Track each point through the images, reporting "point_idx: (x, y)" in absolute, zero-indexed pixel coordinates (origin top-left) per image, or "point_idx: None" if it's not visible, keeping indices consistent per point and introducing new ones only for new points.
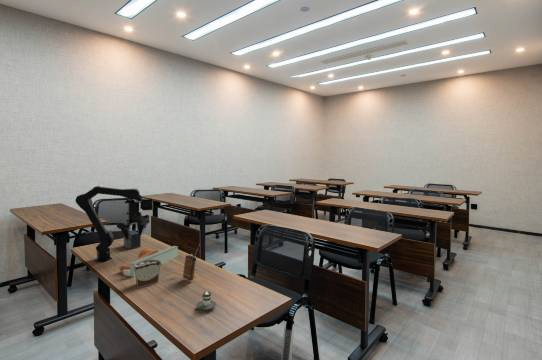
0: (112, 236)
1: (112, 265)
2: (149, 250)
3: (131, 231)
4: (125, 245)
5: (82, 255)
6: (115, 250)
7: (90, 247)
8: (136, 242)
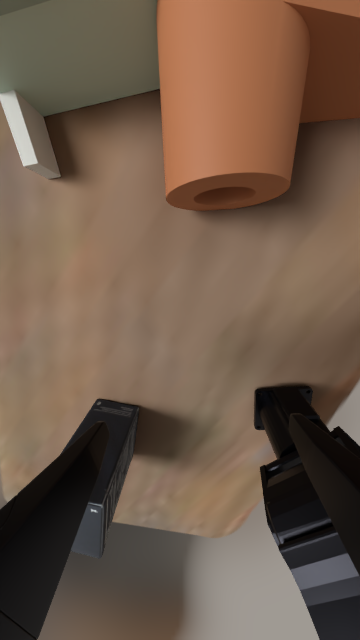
0: (334, 551)
1: (326, 318)
2: (262, 27)
3: None
4: (130, 457)
5: None
6: (171, 452)
7: (197, 520)
8: None
